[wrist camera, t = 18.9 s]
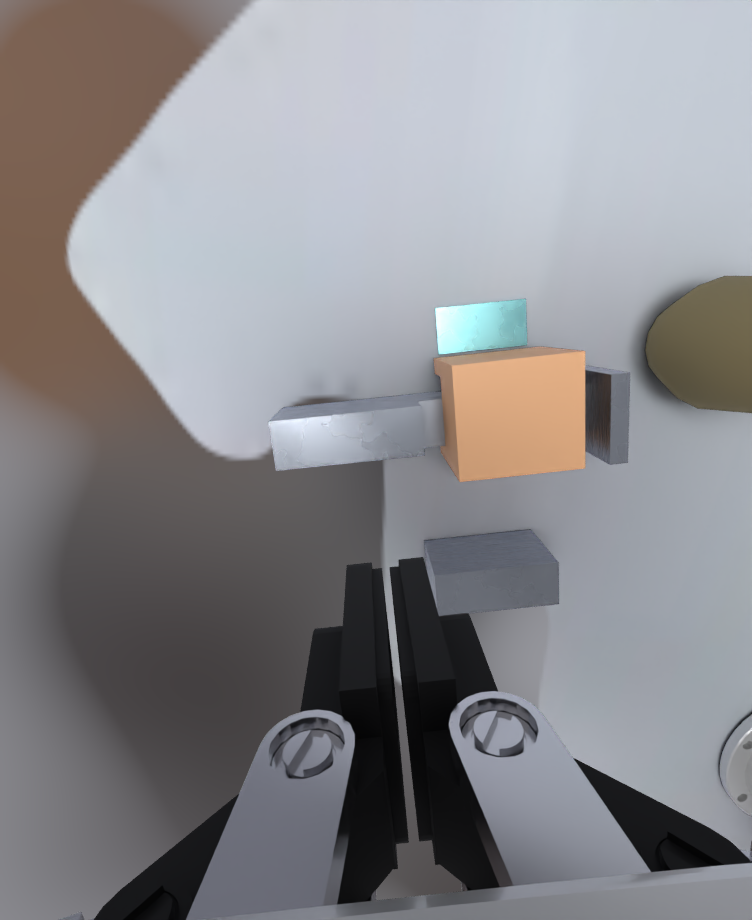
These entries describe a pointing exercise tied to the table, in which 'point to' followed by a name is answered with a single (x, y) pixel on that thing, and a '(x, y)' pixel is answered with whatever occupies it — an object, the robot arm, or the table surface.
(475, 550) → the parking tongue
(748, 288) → the squeeze bottle
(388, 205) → the table surface
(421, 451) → the rail
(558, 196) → the table surface
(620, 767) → the table surface
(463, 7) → the table surface
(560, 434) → the block
